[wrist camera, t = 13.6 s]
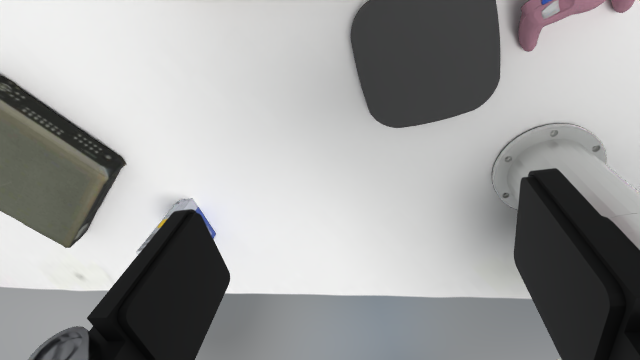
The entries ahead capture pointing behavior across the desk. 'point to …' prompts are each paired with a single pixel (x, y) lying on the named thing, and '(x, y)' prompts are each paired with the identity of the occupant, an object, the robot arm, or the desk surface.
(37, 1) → the desk surface
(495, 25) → the media streaming box
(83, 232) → the network switch
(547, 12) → the video game controller
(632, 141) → the desk surface
